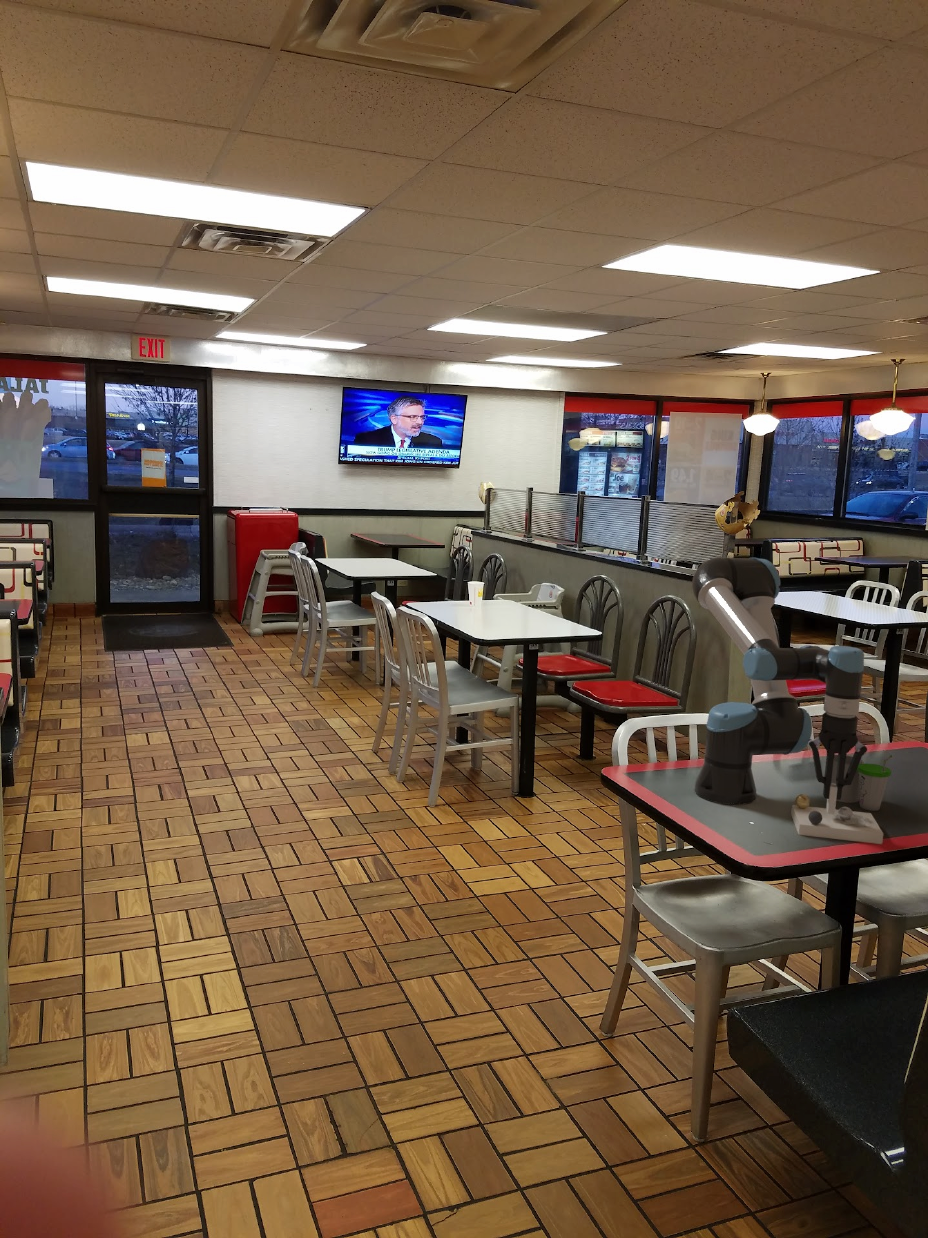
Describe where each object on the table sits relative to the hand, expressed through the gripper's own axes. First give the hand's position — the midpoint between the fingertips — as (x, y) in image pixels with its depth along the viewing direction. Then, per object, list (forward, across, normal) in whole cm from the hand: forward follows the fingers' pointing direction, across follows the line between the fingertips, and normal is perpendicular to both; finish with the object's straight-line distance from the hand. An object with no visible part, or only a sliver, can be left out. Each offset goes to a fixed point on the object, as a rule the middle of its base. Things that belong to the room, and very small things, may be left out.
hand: (830, 812), depth 218 cm
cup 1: (+4, +7, +25) cm, 26 cm away
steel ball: (0, +3, 0) cm, 3 cm away
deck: (+4, +2, 0) cm, 4 cm away
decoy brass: (0, -6, +5) cm, 8 cm away
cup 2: (+4, +12, +18) cm, 23 cm away
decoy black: (0, -4, -5) cm, 6 cm away
